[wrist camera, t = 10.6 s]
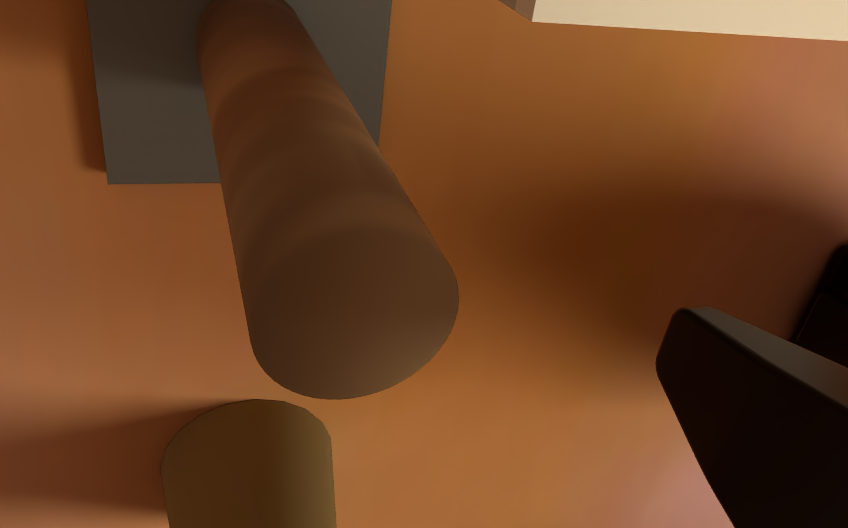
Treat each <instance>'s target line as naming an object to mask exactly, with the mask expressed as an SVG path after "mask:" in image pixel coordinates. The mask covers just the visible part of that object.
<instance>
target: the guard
mask: <svg viewBox="0 0 848 528" xmlns="http://www.w3.org/2000/svg"><path fill="white" fill-rule="evenodd" d="M499 1H501V2H502V3H504V4H505V5H507V6H509V7H510V8H512V9H513V10H515V11H516V12H518V13H519V14H521V15H522V16H524V17H525V18H527V19H529V20H530V21H532V22H546V23H562V24H579V25H595V26H612V27H628V28H644V29H661V30H677V31H693V32H710V33H726V34H742V35H759V36H775V37H792V38H808V39H824V40H841V41H848V0H499Z"/></svg>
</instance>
